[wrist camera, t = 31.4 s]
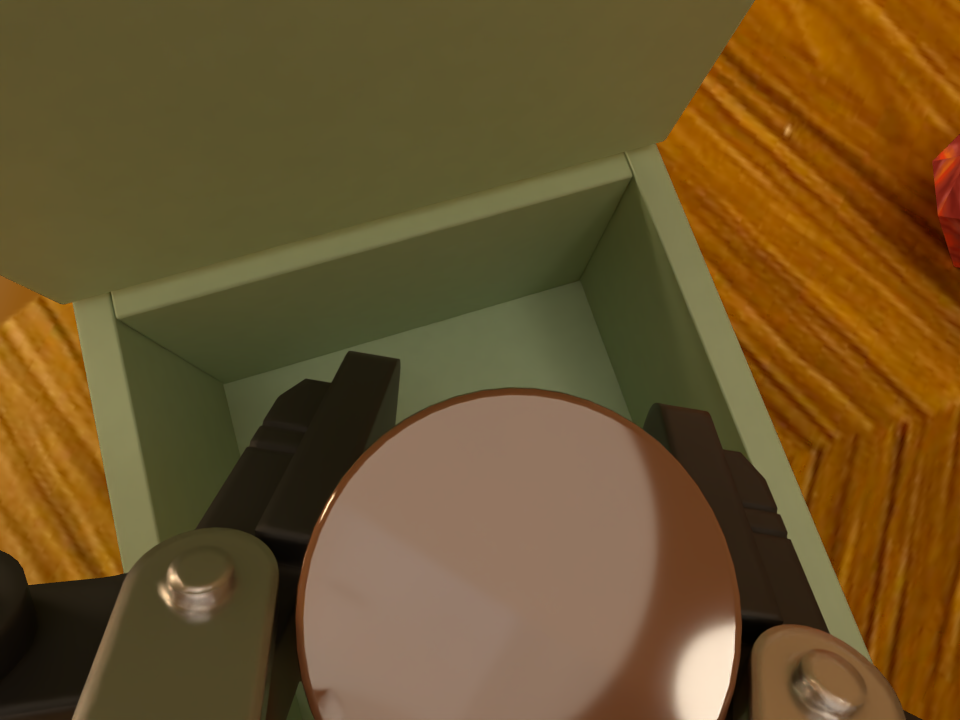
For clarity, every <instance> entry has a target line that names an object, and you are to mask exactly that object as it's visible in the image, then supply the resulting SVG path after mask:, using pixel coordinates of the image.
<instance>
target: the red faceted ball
mask: <svg viewBox="0 0 960 720" xmlns="http://www.w3.org/2000/svg"><path fill="white" fill-rule="evenodd" d="M932 162H933V172H934V182H935V191H936V201H937V211H938V218H939V221H940V224H941V227H942V230H943V234H944V237H945V240H946V243H947V246H948V250H949V253H950V256H951V259H952V262H953V266H954V267H958V268H960V134H959V135H958V136H957V137H956V138H955V139H954V140H953V141H952V142H951V143H950V144H949V145H948V146H947V147H946V148H945V149H944V150H943V151H942V152H941V153H940V154H939V155H938V156H937V157H936V158H935V159H934V160H933V161H932Z"/></svg>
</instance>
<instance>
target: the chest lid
mask: <svg viewBox="0 0 960 720" xmlns="http://www.w3.org/2000/svg"><path fill="white" fill-rule="evenodd" d="M754 1H755V0H0V275H1V276H3V277H5V278H7V279H9V280H11V281H13V282H16V283H18V284H20V285H22V286H24V287H26V288H28V289H30V290H32V291H34V292H37V293H39V294H41V295H43V296H45V297H47V298H49V299H51V300H53V301H56V302H58V303H60V304H67V303H71V302H74V301H78V300H82V299H85V298H89V297H93V296H96V295H100V294H104V293H107V292H111V291H115V290H118V289H122V288H126V287H129V286H133V285H137V284H140V283H144V282H148V281H152V280H155V279H159V278H163V277H166V276H170V275H174V274H177V273H181V272H185V271H188V270H192V269H196V268H199V267H203V266H207V265H210V264H214V263H218V262H221V261H225V260H229V259H232V258H236V257H240V256H243V255H247V254H251V253H254V252H258V251H262V250H265V249H269V248H273V247H276V246H280V245H284V244H287V243H291V242H295V241H298V240H302V239H306V238H309V237H313V236H317V235H320V234H324V233H328V232H331V231H335V230H339V229H343V228H346V227H350V226H354V225H357V224H361V223H365V222H368V221H372V220H376V219H379V218H383V217H387V216H390V215H394V214H398V213H401V212H405V211H409V210H412V209H416V208H420V207H423V206H427V205H431V204H434V203H438V202H442V201H445V200H449V199H453V198H456V197H460V196H464V195H467V194H471V193H475V192H478V191H482V190H486V189H489V188H493V187H497V186H500V185H504V184H508V183H511V182H515V181H519V180H522V179H526V178H530V177H534V176H537V175H541V174H545V173H548V172H552V171H556V170H559V169H563V168H567V167H570V166H574V165H578V164H581V163H585V162H589V161H592V160H596V159H600V158H603V157H607V156H611V155H614V154H618V153H622V152H625V151H629V150H633V149H636V148H640V147H644V146H647V145H651V144H655V143H658V142H662V141H664V140H665V139H666V138H667V136H668V135H669V133H670V132H671V130H672V129H673V127H674V125H675V124H676V122H677V121H678V119H679V118H680V116H681V115H682V113H683V111H684V110H685V108H686V107H687V105H688V104H689V102H690V101H691V99H692V97H693V96H694V94H695V93H696V91H697V90H698V88H699V87H700V85H701V83H702V82H703V80H704V79H705V77H706V76H707V74H708V73H709V71H710V69H711V68H712V66H713V65H714V63H715V62H716V60H717V59H718V57H719V55H720V54H721V52H722V51H723V49H724V48H725V46H726V45H727V43H728V41H729V40H730V38H731V37H732V35H733V34H734V32H735V31H736V29H737V27H738V26H739V24H740V23H741V21H742V20H743V18H744V17H745V15H746V13H747V12H748V10H749V9H750V7H751V6H752V4H753V2H754Z"/></svg>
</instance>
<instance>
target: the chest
mask: <svg viewBox="0 0 960 720" xmlns="http://www.w3.org/2000/svg"><path fill="white" fill-rule="evenodd" d="M73 307H74V312H75V317H76V323H77V328H78V333H79V339H80V344H81V349H82V354H83V360H84V365H85V370H86V376H87V381H88V386H89V391H90V397H91V402H92V407H93V412H94V418H95V423H96V428H97V434H98V439H99V444H100V449H101V455H102V460H103V465H104V471H105V476H106V481H107V486H108V492H109V497H110V502H111V508H112V513H113V518H114V523H115V529H116V534H117V539H118V545H119V550H120V555H121V560H122V566H123V571H124V573H128V572H129V571H130V569H131V568H132V567H133V565H134V564H135V563H136V562H137V561H138V560H139V559H140V558H141V557H142V556H143V555H144V554H145V553H146V552H148V551H149V550H150V549H151V548H153V547H154V546H156V545H157V544H159V543H161V542H163V541H164V540H166V539H168V538H171V537H173V536H175V535H178V534H181V533H184V532H187V531H191V530H195V529H196V527H197V526H198V524H199V522H200V521H201V519H202V518H203V516H204V514H205V513H206V511H207V510H208V508H209V506H210V505H211V503H212V502H213V500H214V498H215V497H216V495H217V494H218V492H219V490H220V489H221V487H222V486H223V484H224V482H225V481H226V479H227V478H228V476H229V474H230V473H231V471H232V470H233V468H234V466H235V465H236V463H237V462H238V460H239V458H240V457H241V455H242V454H243V452H244V450H245V449H246V447H249V446H250V441H251V439H252V438H253V436H254V434H255V433H256V431H257V430H258V428H259V426H262V424H263V420H264V418H265V417H266V415H267V414H268V412H269V410H270V409H271V407H272V406H273V404H274V402H275V401H276V399H277V398H278V396H280V395H281V394H283V393H284V392H286V391H287V390H289V389H290V388H292V387H293V386H295V385H296V384H298V383H299V382H301V381H303V380H304V379H312V380H318V381H324V382H330V383H331V382H332V380H333V378H334V376H335V375H336V373H337V371H338V369H339V367H340V365H341V363H342V361H343V359H344V357H345V355H346V354H347V352H348V351H356V352H362V353H368V354H373V355H379V356H385V357H391V358H397V359H400V363H401V368H400V381H399V392H398V402H397V413H396V424H395V425H397V424H398V423H399V422H401V421H402V420H404V419H405V418H407V417H409V416H411V415H413V414H415V413H416V412H418V411H420V410H422V409H424V408H426V407H428V406H430V405H432V404H435V403H438V402H440V401H443V400H446V399H448V398H451V397H454V396H457V395H462V394H466V393H470V392H474V391H479V390H485V389H495V388H504V387H523V388H539V389H546V390H552V391H559V392H564V393H567V394H570V395H574V396H577V397H581V398H584V399H588V400H590V401H592V402H595V403H597V404H599V405H602V406H604V407H606V408H609V409H611V410H613V411H615V412H617V413H618V414H620V415H622V416H623V417H625V418H627V419H628V420H630V421H632V422H633V423H635V424H637V425H638V426H639V427H641V428H642V429H643V426H644V423H645V420H646V417H647V414H648V412H649V409H650V408H651V406H652V405H653V404H654V403H662V404H668V405H674V406H680V407H685V408H691V409H697V410H703V411H707V412H709V414H710V415H711V417H712V420H713V423H714V426H715V429H716V431H717V434H718V437H719V440H720V443H721V445H722V448H723V449H725V450H731V451H736V452H741V453H742V454H743V455H744V456H745V458H746V459H747V460H748V461H749V462H750V463H751V464H752V465H753V466H754V467H755V468H756V469H757V471H758V472H759V473H760V474H761V475H762V476H763V477H764V478H765V479H766V482H767V484H768V486H769V489H770V491H771V493H772V496H773V498H774V501H775V503H776V505H777V508H778V509H777V514H780V515H781V517H782V520H783V522H784V525H785V527H786V529H787V532H788V534H787V539H791V541H792V544H793V546H794V549H795V551H796V553H797V556H798V558H799V561H800V563H801V565H802V568H803V570H804V572H805V575H806V577H807V580H808V582H809V584H810V587H811V589H812V592H813V594H814V596H815V599H816V601H817V604H818V606H819V608H820V611H821V613H822V616H823V618H824V620H825V623H826V625H827V628H828V630H829V632H830V634H831V635H833V636H835V637H837V638H838V639H840V640H842V641H844V642H845V643H847V644H848V645H850V646H851V647H853V648H854V649H856V650H857V651H858V652H860V653H861V654H862V655H863V656H864V657H866V658H867V659H868V660H869V661H870V662H871V663H872V660H871V658H870V656H869V653H868V651H867V648H866V646H865V644H864V641H863V639H862V637H861V634H860V632H859V629H858V627H857V625H856V622H855V620H854V617H853V615H852V613H851V610H850V608H849V605H848V603H847V601H846V598H845V596H844V593H843V591H842V589H841V586H840V584H839V581H838V579H837V577H836V574H835V572H834V569H833V567H832V565H831V562H830V560H829V558H828V555H827V553H826V550H825V548H824V546H823V543H822V541H821V538H820V536H819V534H818V531H817V529H816V526H815V524H814V522H813V519H812V517H811V514H810V512H809V510H808V507H807V505H806V502H805V500H804V498H803V495H802V493H801V491H800V488H799V486H798V483H797V481H796V479H795V476H794V474H793V471H792V469H791V467H790V464H789V462H788V459H787V457H786V455H785V452H784V450H783V447H782V445H781V443H780V440H779V438H778V435H777V433H776V431H775V428H774V426H773V424H772V421H771V419H770V416H769V414H768V412H767V409H766V407H765V404H764V402H763V400H762V397H761V395H760V392H759V390H758V388H757V385H756V383H755V380H754V378H753V376H752V373H751V371H750V368H749V366H748V364H747V361H746V359H745V357H744V354H743V352H742V349H741V347H740V345H739V342H738V340H737V337H736V335H735V333H734V330H733V328H732V325H731V323H730V321H729V318H728V316H727V313H726V311H725V309H724V306H723V304H722V301H721V299H720V297H719V294H718V292H717V290H716V287H715V285H714V282H713V280H712V278H711V275H710V273H709V270H708V268H707V266H706V263H705V261H704V258H703V256H702V254H701V251H700V249H699V246H698V244H697V242H696V239H695V237H694V234H693V232H692V230H691V227H690V225H689V223H688V220H687V218H686V215H685V213H684V211H683V208H682V206H681V203H680V201H679V199H678V196H677V194H676V191H675V189H674V187H673V184H672V182H671V179H670V177H669V175H668V172H667V170H666V167H665V165H664V163H663V160H662V158H661V155H660V153H659V151H658V148H657V146H656V144H651V145H647V146H644V147H640V148H636V149H633V150H629V151H625V152H622V153H618V154H614V155H611V156H607V157H603V158H600V159H596V160H592V161H589V162H585V163H581V164H578V165H574V166H570V167H567V168H563V169H559V170H556V171H552V172H548V173H545V174H541V175H537V176H534V177H530V178H526V179H522V180H519V181H515V182H511V183H508V184H504V185H500V186H497V187H493V188H489V189H486V190H482V191H478V192H475V193H471V194H467V195H464V196H460V197H456V198H453V199H449V200H445V201H442V202H438V203H434V204H431V205H427V206H423V207H420V208H416V209H412V210H409V211H405V212H401V213H398V214H394V215H390V216H387V217H383V218H379V219H376V220H372V221H368V222H365V223H361V224H357V225H354V226H350V227H346V228H343V229H339V230H335V231H331V232H328V233H324V234H320V235H317V236H313V237H309V238H306V239H302V240H298V241H295V242H291V243H287V244H284V245H280V246H276V247H273V248H269V249H265V250H262V251H258V252H254V253H251V254H247V255H243V256H240V257H236V258H232V259H229V260H225V261H221V262H218V263H214V264H210V265H207V266H203V267H199V268H196V269H192V270H188V271H185V272H181V273H177V274H174V275H170V276H166V277H163V278H159V279H155V280H152V281H148V282H144V283H140V284H137V285H133V286H129V287H126V288H122V289H118V290H115V291H111V292H107V293H104V294H100V295H96V296H93V297H89V298H85V299H82V300H78V301H74V302H73ZM872 664H873V663H872ZM286 720H314V718H313V716H312V714H311V711H310V708H309V705H308V702H307V698H306V695H305V692H304V689H303V685H302V682H300V681H299V684H298V687H297V690H296V693H295V696H294V699H293V701H292V704H291V707H290V710H289V713H288V716H287V719H286Z"/></svg>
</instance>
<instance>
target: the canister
mask: <svg viewBox="0 0 960 720" xmlns="http://www.w3.org/2000/svg"><path fill="white" fill-rule="evenodd" d="M741 634H742V619H741V605H740V593H739V588H738V583H737V578H736V572H735V567H734V563H733V560H732V557H731V554H730V551H729V548H728V544H727V541H726V538H725V535H724V533H723V531H722V529H721V527H720V524H719V522H718V520H717V518H716V516H715V514H714V511H713V509H712V508H711V506H710V504H709V503H708V501H707V499H706V498H705V496H704V494H703V493H702V491H701V490H700V488H699V486H698V485H697V483H696V482H695V481H694V480H693V478H692V477H691V476H690V474H689V473H688V472H687V471H686V469H685V468H684V467H683V466H682V464H681V463H680V462H679V461H678V460H677V459H676V458H675V457H674V456H673V455H672V454H671V453H670V452H669V451H668V450H667V449H666V448H665V447H664V446H663V445H662V444H661V443H660V442H659V441H658V440H656V439H655V438H654V437H652V436H651V435H650V434H649V433H647V432H646V431H645V430H643V429H642V428H641V427H639V426H638V425H637V424H635V423H633V422H632V421H630V420H628V419H627V418H625V417H623V416H622V415H620V414H618V413H617V412H615V411H613V410H611V409H609V408H606V407H604V406H602V405H599V404H597V403H595V402H592V401H590V400H588V399H584V398H581V397H577V396H574V395H570V394H567V393H564V392H559V391H552V390H546V389H539V388H523V387H504V388H495V389H485V390H479V391H474V392H470V393H466V394H462V395H457V396H454V397H451V398H448V399H446V400H443V401H440V402H438V403H435V404H432V405H430V406H428V407H426V408H424V409H422V410H420V411H418V412H416V413H415V414H413V415H411V416H409V417H407V418H405V419H404V420H402V421H401V422H399V423H398V424H397V425H395V426H394V427H392V428H391V429H390V430H388V431H387V432H385V433H384V434H382V435H381V436H380V437H379V438H378V439H377V440H376V441H375V442H374V443H373V444H371V445H370V446H369V447H368V448H367V449H366V450H365V451H364V452H363V453H362V454H361V455H360V456H359V457H358V458H357V459H356V461H355V462H354V463H353V464H352V465H351V466H350V468H349V469H348V470H347V471H346V472H345V474H344V475H343V476H342V477H341V479H340V481H339V482H338V484H337V485H336V487H335V488H334V490H333V491H332V493H331V494H330V496H329V497H328V499H327V500H326V502H325V504H324V507H323V509H322V511H321V513H320V515H319V517H318V519H317V521H316V523H315V525H314V527H313V530H312V533H311V536H310V539H309V542H308V544H307V547H306V550H305V553H304V556H303V561H302V566H301V570H300V575H299V580H298V585H297V594H296V606H295V640H296V653H297V659H298V665H299V671H300V677H301V682H302V685H303V689H304V692H305V695H306V698H307V702H308V705H309V708H310V711H311V714H312V716H313V718H314V720H725V718H726V715H727V711H728V708H729V705H730V702H731V699H732V695H733V692H734V689H735V684H736V679H737V673H738V667H739V662H740V653H741Z"/></svg>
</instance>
